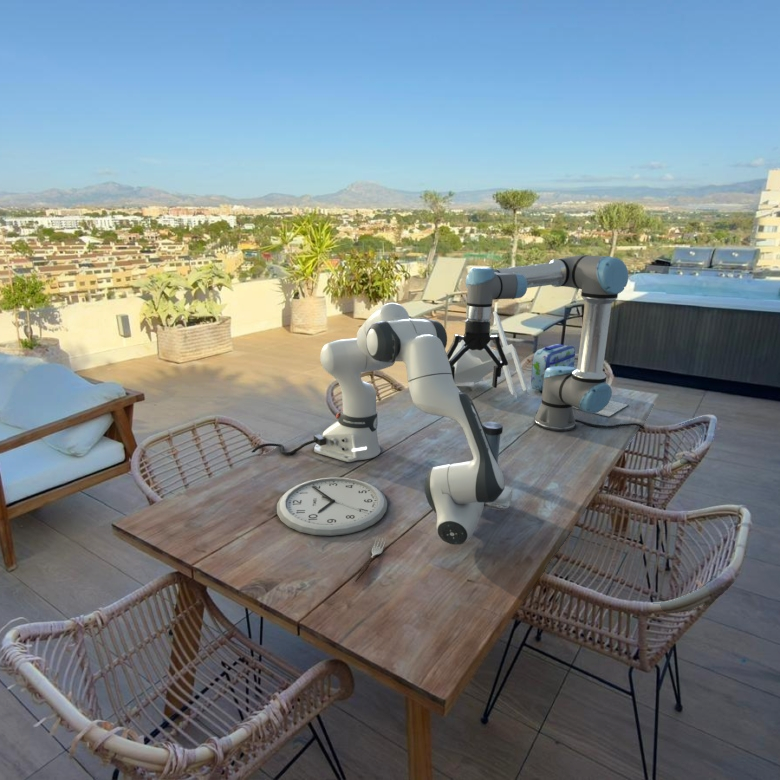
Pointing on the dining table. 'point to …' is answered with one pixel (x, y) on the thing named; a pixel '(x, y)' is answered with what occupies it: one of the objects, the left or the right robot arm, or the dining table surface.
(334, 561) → the dining table surface
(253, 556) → the dining table surface
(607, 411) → the invitation card
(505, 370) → the white plastic object
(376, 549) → the fork
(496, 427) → the lid
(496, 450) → the jar
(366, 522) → the wall clock
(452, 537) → the left robot arm
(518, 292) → the right robot arm
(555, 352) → the lunch box
